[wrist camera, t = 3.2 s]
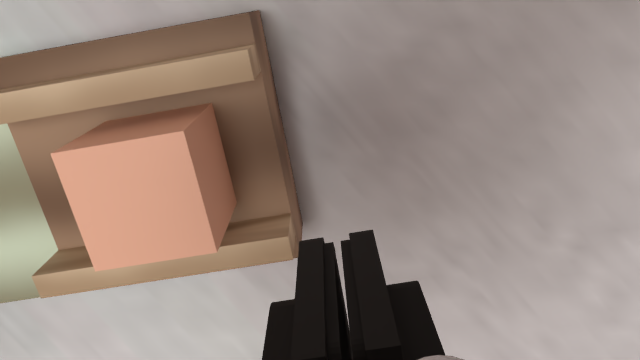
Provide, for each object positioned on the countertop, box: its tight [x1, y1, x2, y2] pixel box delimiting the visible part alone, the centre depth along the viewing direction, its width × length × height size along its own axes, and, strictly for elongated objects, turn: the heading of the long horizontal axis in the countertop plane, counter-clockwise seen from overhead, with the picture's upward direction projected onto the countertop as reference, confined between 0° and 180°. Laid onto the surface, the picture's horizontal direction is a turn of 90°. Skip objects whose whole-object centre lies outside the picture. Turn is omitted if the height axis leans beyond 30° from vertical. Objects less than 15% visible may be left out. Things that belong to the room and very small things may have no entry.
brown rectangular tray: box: [0, 10, 303, 303], centre depth 24 cm, size 12×24×6 cm, turn 100°
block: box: [51, 103, 237, 272], centre depth 21 cm, size 5×5×5 cm
